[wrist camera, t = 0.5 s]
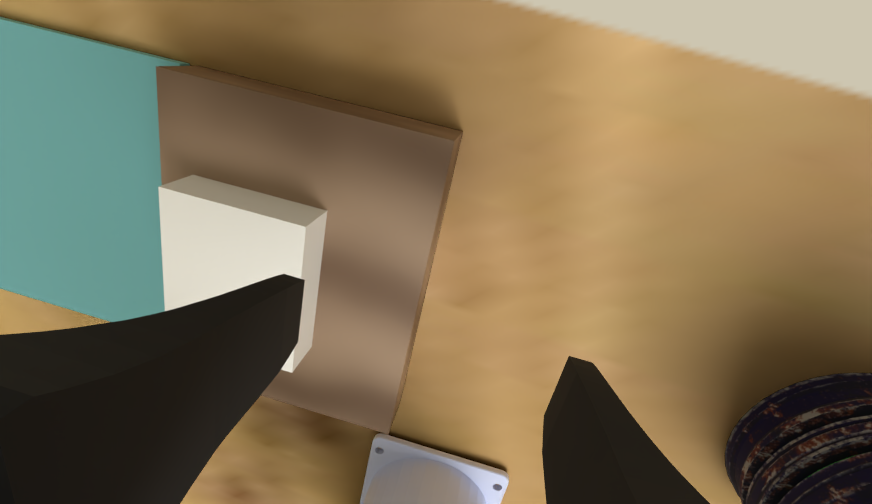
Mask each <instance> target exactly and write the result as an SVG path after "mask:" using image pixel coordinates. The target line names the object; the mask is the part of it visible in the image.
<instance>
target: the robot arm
mask: <svg viewBox="0 0 872 504" xmlns="http://www.w3.org/2000/svg"><path fill="white" fill-rule="evenodd" d="M304 283H305V280H303V279H300V278H296V277H293V276H290V275H286V274H281V275H277V276H274V277H271V278H268V279H265V280H262V281H259V282H256V283H253V284H250V285H248V286H245V287H242V288H239V289H236V290H233V291H230V292H227V293H224V294H222V295H219V296H216V297H212V298H209V299H206V300H202V301H199V302H196V303H192V304H189V305H186V306H182V307H179V308H175V309H172V310H168V311H164V312H160V313H156V314H151V315H147V316H142V317H137V318H133V319H128V320H123V321H116V322H110V323H104V324H97V325H91V326H85V327H78V328H71V329H62V330H53V331H44V332H32V333H20V334H7V335H0V504H180V503H181V501H182V500H183V498H184V497H185V495H186V493H187V492H188V490H189V489H190V487H191V486H192V484H193V483H194V481H195V480H196V478H197V477H198V475H199V474H200V472H201V471H202V469H203V468H204V466H205V465H206V464H207V462H208V461H209V459H210V458H211V456H212V455H213V453H214V452H215V450H216V449H217V448H218V446H219V445H220V444H221V443H222V441H223V440H224V439H225V437H226V436H227V435H228V434H229V432H230V431H231V430H232V429H233V428H234V426H235V425H236V424H237V423H238V422H239V420H240V419H241V418H242V417H243V416H244V414H245V413H246V412H247V411H248V410H249V408H250V407H251V406H252V405H253V404H254V402H255V401H256V400H257V399H258V398H259V396H260V395H261V394H262V393H263V392H264V390H265V389H266V388H267V387H268V385H269V384H270V383H271V382H272V381H273V379H274V378H275V377H276V376H277V374H278V373H279V372H280V370H281V369H282V367H283V366H284V364H285V363H286V361H287V359H288V358H289V356H290V355H291V353H292V351H293V350H294V348H295V346H296V345H297V343H298V338H299V329H300V320H301V311H302V302H303V293H304ZM378 447H380V448H382V449H380V448H378ZM542 454H543V468H544V480H545V491H546V503H547V504H710V503H709V502H708V501H707V500H706V499H705V498H704V497H703V496H702V495H701V494H700V493H699V492H698V491H697V490H696V489H695V488H694V487H693V486H692V485H691V484H690V483H689V482H688V481H687V480H686V479H685V478H684V477H683V476H682V475H681V474H680V473H679V472H678V470H677V469H676V468H675V467H674V466H673V465H672V464H671V463H670V462H669V460H668V459H667V458H666V457H665V456H664V455H663V453H662V452H661V451H660V450H659V449H658V448H657V446H656V445H655V444H654V443H653V442H652V440H651V439H650V438H649V437H648V436H647V434H646V433H645V432H644V431H643V429H642V428H641V427H640V426H639V424H638V423H637V422H636V420H635V419H634V418H633V416H632V415H631V414H630V413H629V411H628V410H627V409H626V407H625V406H624V404H623V403H622V402H621V400H620V399H619V398H618V396H617V395H616V394H615V392H614V391H613V389H612V388H611V387H610V385H609V384H608V382H607V381H606V380H605V378H604V377H603V376H602V374H601V373H600V372H599V370H598V369H597V368H596V366H595V365H594V364H593V363H591V362H588V361H584V360H581V359H577V358H574V357H571V356H569V357H568V360H567V362H566V364H565V367H564V369H563V372H562V374H561V376H560V379H559V381H558V384H557V386H556V388H555V391H554V393H553V395H552V398H551V400H550V403H549V405H548V407H547V410H546V412H545V415H544V425H543V447H542ZM508 483H509V476H508V474H507V473H506V472H505V471H503V470H500V469H497V468H494V467H491V466H487V465H484V464H481V463H478V462H474V461H471V460H468V459H465V458H461V457H458V456H455V455H451V454H448V453H445V452H442V451H438V450H435V449H432V448H429V447H425V446H422V445H419V444H416V443H412V442H409V441H406V440H403V439H399V438H396V437H393V436H390V435H386V434H382V433H379V434H376V435H375V437H374V439H373V441H372V446H371V451H370V456H369V461H368V465H367V470H366V475H365V480H364V485H363V490H362V494H361V499H360V504H500V503H501V500H502V498H503V495H504V493H505V491H506V488H507V486H508ZM496 484H499V485H496Z"/></svg>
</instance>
